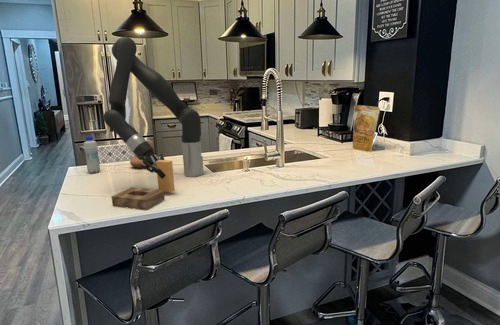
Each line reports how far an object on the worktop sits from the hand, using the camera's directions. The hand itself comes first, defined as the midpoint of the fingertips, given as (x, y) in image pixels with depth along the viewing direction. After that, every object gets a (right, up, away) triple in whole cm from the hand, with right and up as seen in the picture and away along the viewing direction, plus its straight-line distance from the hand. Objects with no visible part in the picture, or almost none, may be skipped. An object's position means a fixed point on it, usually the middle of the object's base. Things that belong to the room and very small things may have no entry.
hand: (166, 175), depth 149 cm
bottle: (-49, 0, +40) cm, 63 cm away
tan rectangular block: (0, -6, +2) cm, 6 cm away
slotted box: (-9, -11, -8) cm, 16 cm away
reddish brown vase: (-25, +3, +50) cm, 56 cm away
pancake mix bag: (+109, +14, +78) cm, 135 cm away
